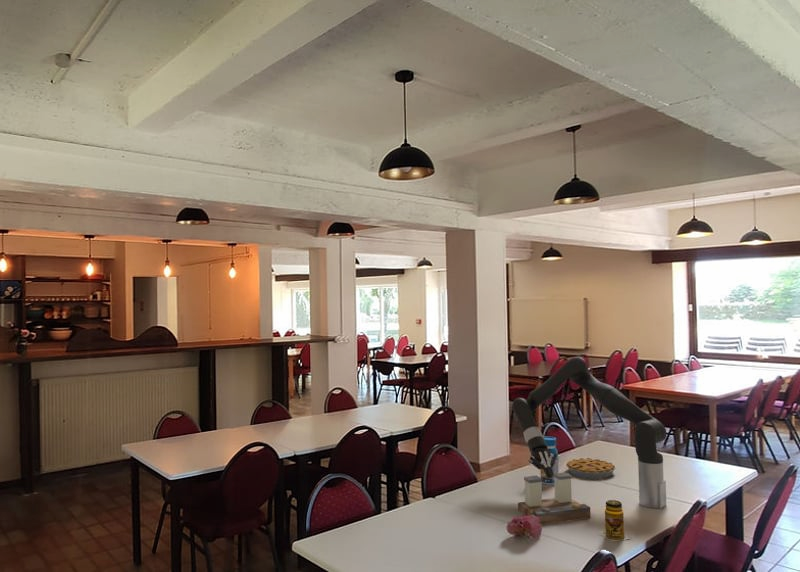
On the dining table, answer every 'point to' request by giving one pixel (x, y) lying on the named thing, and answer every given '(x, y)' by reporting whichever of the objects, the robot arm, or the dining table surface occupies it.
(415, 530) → the dining table surface
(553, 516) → the button board
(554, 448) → the beverage bottle
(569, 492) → the marked plunger
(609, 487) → the dining table surface
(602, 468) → the pie
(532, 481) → the plunger
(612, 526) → the condiment
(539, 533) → the flower
